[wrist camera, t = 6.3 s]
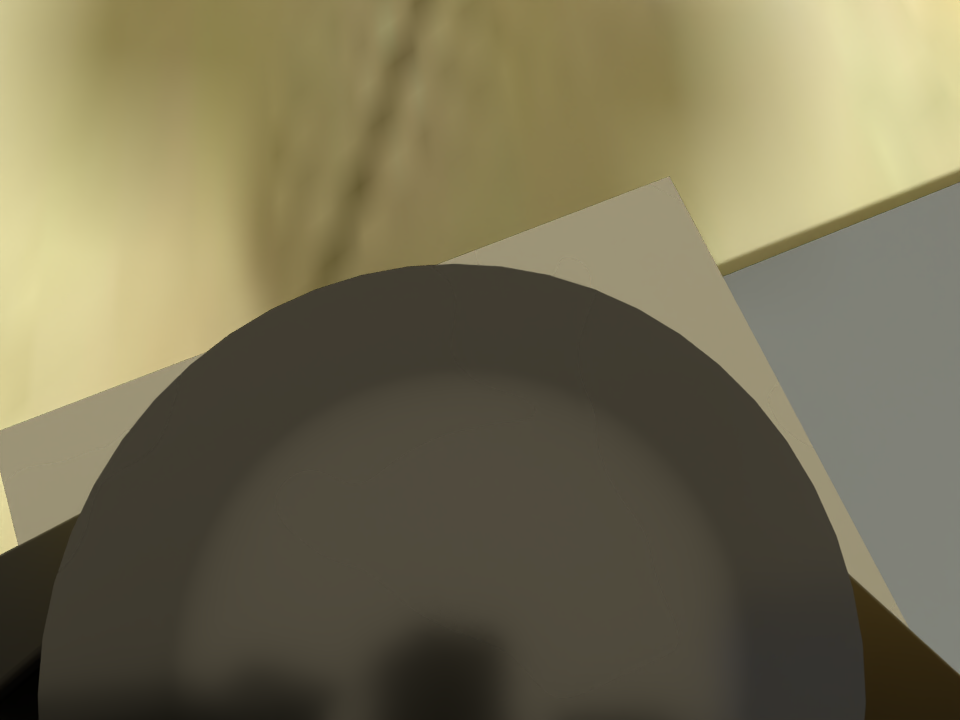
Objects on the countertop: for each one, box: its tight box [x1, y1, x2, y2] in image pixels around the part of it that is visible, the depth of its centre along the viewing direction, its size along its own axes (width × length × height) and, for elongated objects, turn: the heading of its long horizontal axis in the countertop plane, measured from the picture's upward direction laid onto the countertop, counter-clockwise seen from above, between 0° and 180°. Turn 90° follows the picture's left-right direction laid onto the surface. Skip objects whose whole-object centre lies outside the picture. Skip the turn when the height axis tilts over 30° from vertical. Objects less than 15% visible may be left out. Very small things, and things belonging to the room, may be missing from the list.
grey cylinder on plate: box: [0, 176, 909, 720], centre depth 9 cm, size 9×9×10 cm
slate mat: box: [723, 182, 960, 674], centre depth 21 cm, size 23×12×1 cm, turn 112°
